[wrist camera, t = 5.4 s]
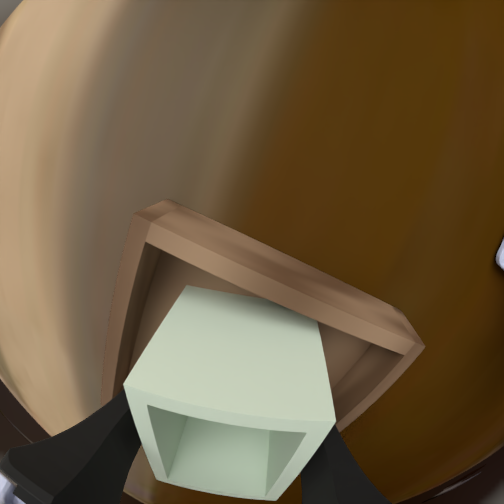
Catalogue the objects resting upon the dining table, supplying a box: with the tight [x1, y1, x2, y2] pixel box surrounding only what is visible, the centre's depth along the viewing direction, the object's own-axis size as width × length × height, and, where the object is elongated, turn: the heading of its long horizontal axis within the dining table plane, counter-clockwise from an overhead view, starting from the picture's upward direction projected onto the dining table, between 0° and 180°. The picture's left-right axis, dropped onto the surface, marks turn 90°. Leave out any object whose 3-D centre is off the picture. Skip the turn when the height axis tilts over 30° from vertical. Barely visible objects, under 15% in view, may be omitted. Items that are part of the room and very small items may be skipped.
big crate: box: [101, 199, 425, 432], centre depth 12 cm, size 12×12×3 cm
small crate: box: [123, 285, 336, 501], centre depth 10 cm, size 6×8×6 cm
